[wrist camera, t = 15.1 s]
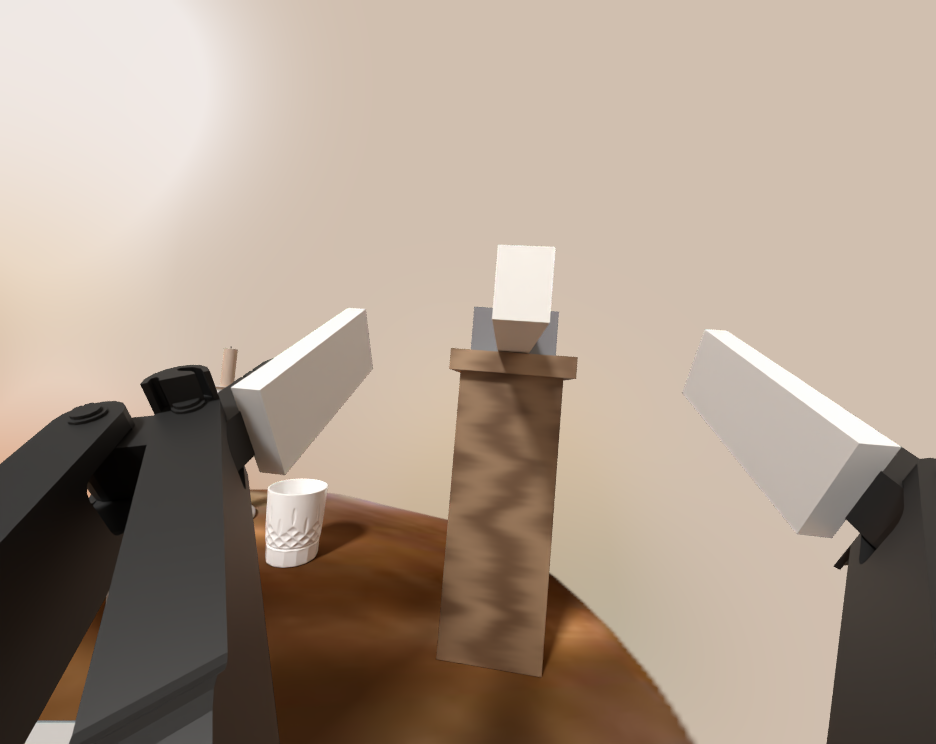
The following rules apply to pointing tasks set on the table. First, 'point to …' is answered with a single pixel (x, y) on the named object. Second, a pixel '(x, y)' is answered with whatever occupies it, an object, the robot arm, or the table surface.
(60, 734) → the smartphone
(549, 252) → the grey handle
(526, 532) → the tall stand
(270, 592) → the table surface
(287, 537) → the white cup
